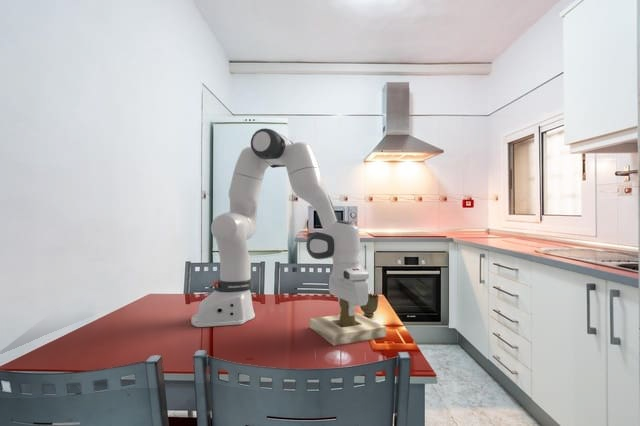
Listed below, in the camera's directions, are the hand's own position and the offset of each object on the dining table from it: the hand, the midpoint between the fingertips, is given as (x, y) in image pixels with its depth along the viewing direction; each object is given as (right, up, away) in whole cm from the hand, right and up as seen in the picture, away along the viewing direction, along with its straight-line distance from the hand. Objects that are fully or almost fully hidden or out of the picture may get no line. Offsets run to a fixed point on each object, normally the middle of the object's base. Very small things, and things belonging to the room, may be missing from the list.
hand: (346, 313), depth 108 cm
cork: (0, -6, 0) cm, 6 cm away
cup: (+10, -6, +17) cm, 21 cm away
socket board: (0, -6, 0) cm, 6 cm away
